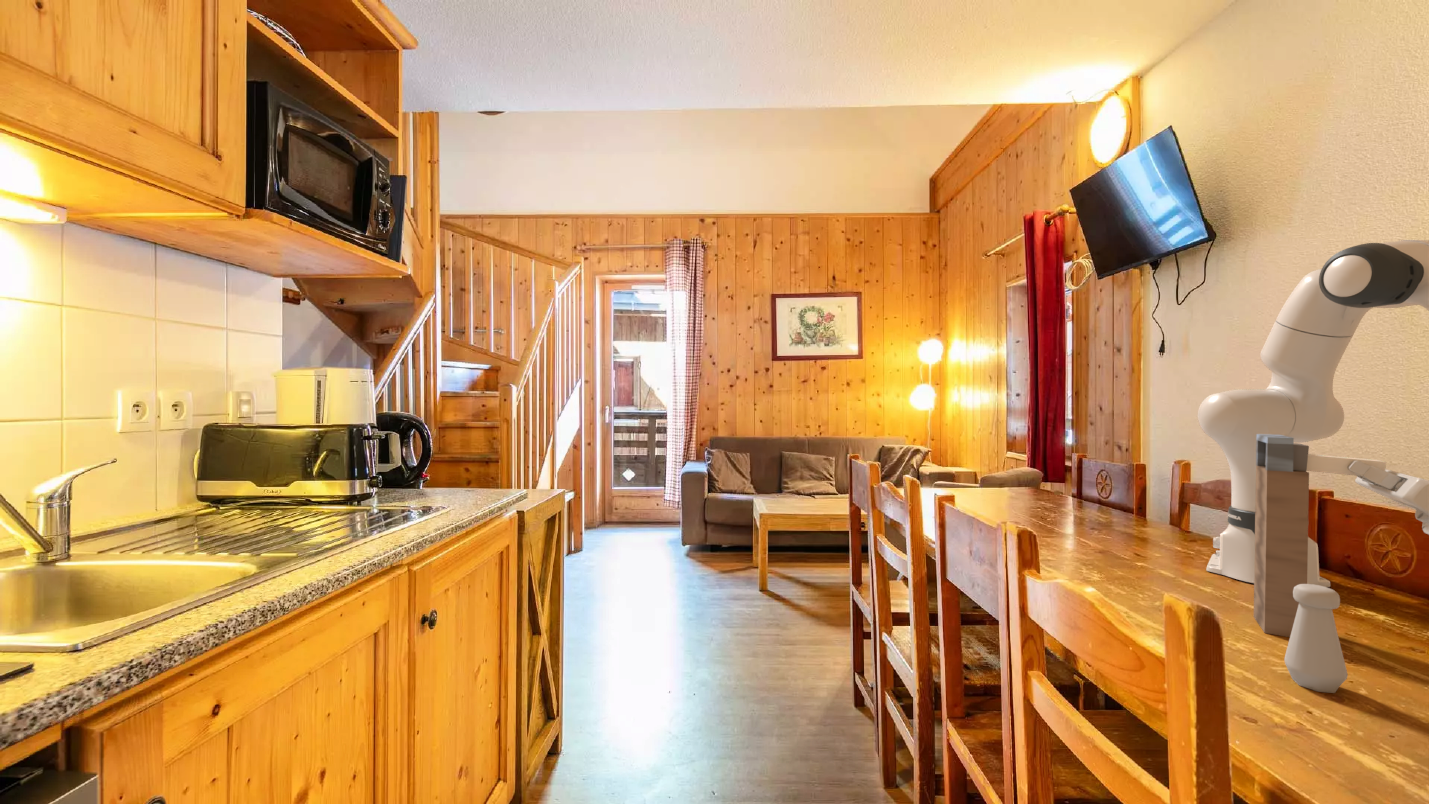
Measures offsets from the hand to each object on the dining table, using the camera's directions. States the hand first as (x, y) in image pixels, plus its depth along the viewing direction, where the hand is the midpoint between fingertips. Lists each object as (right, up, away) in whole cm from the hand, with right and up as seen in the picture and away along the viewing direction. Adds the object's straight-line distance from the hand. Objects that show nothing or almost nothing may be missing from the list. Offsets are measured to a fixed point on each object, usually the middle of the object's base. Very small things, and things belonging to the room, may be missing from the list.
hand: (1345, 462), depth 92 cm
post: (-6, -27, +5) cm, 28 cm away
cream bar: (-2, -2, +1) cm, 3 cm away
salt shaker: (-19, -28, -14) cm, 37 cm away
